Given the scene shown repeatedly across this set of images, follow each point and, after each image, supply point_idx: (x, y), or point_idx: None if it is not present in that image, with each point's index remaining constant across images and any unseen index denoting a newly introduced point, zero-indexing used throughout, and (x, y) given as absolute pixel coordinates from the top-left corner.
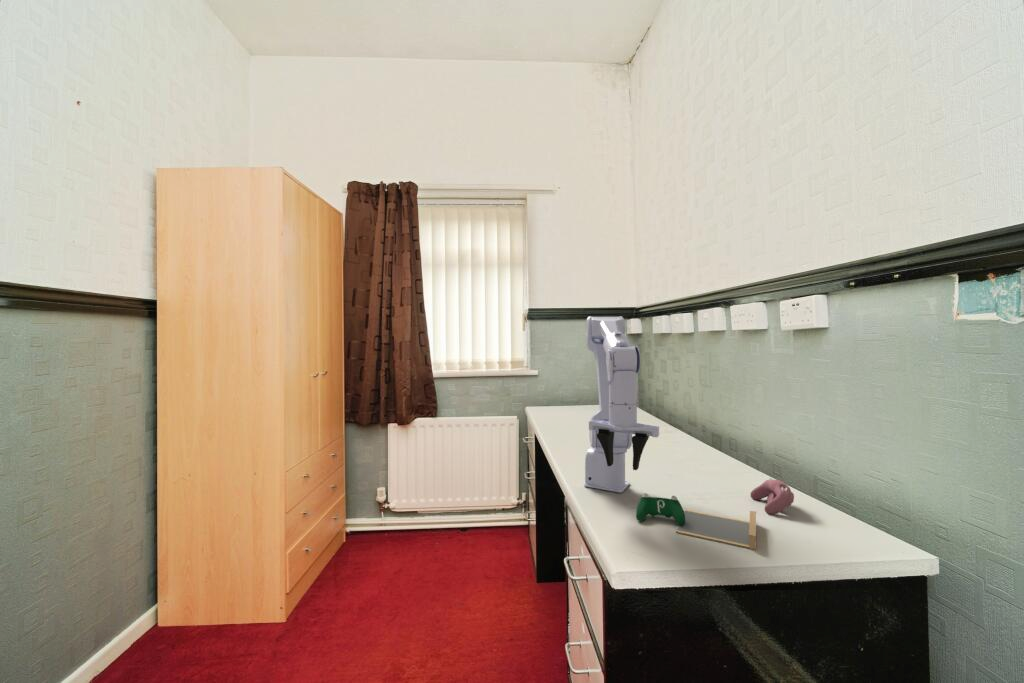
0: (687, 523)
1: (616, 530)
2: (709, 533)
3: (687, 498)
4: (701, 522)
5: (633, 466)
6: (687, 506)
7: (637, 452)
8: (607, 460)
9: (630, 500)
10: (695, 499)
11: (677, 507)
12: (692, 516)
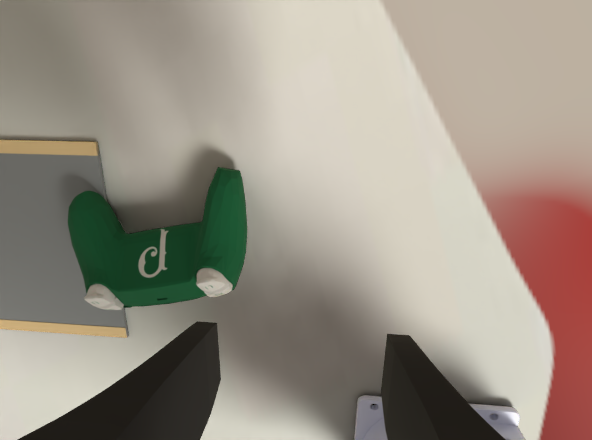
0: None
1: (288, 43)
2: (7, 182)
3: None
4: (55, 258)
5: (201, 331)
6: None
7: (87, 411)
8: (418, 356)
9: (313, 347)
10: None
11: (86, 250)
12: None
